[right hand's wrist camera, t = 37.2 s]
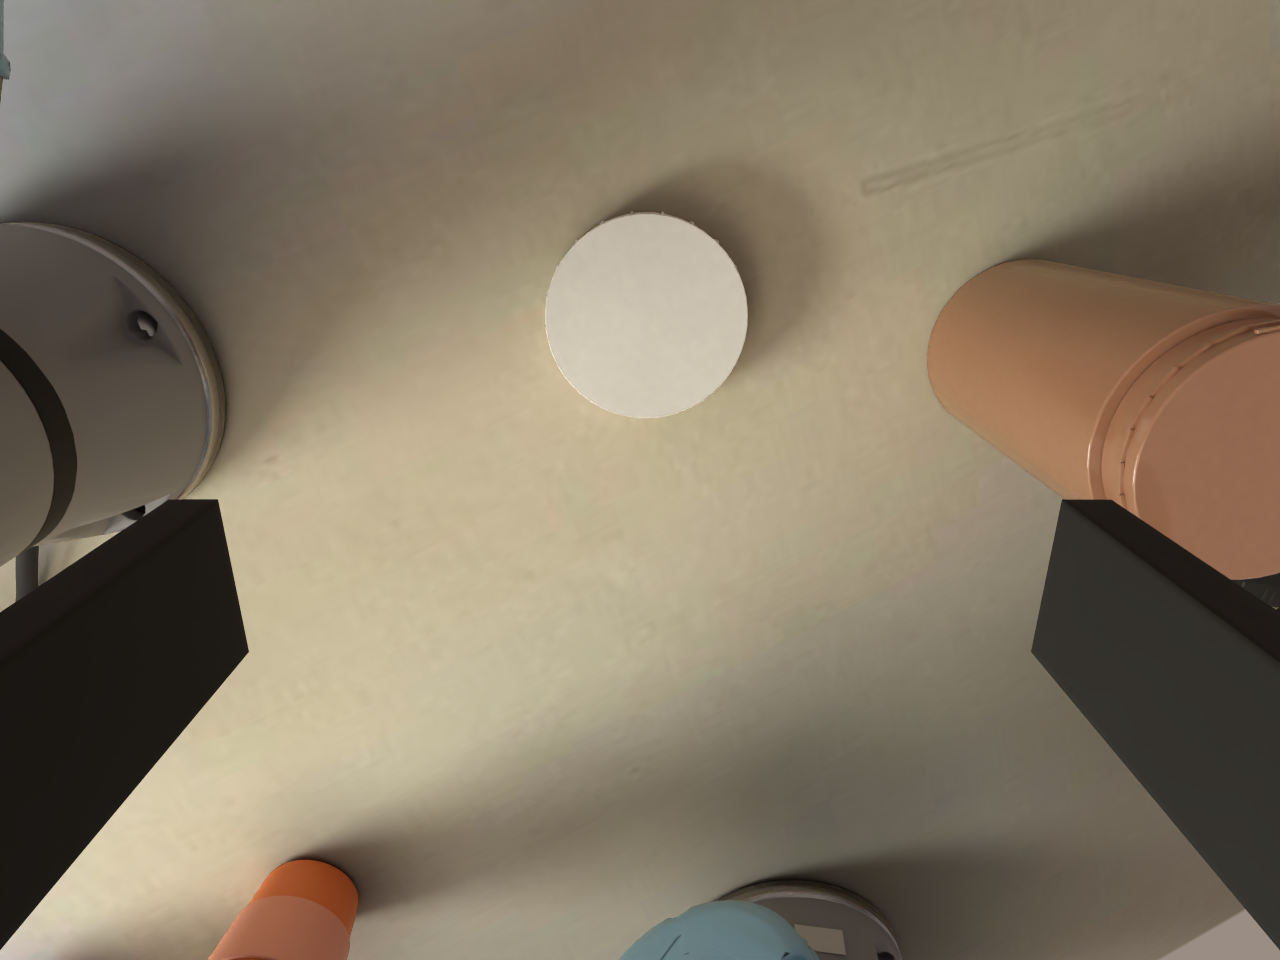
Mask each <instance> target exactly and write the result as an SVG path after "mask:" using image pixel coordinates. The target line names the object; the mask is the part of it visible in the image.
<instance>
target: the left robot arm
mask: <svg viewBox="0 0 1280 960" xmlns="http://www.w3.org/2000/svg"><path fill="white" fill-rule="evenodd" d="M1232 581H1234V582H1235V583H1237V584H1238V585H1239V586H1241V587H1242V588H1244V589H1245V590H1247V591H1248V592H1250V593H1251V594H1253V595H1254V596H1256V597H1257V598H1259V599H1260V600H1262V601H1263V602H1265V603H1266V604H1268V605H1269V606H1273V607H1279V608H1278V609H1277V611H1278V612H1280V573H1277V574H1273V575H1269V576H1264V577H1259V578H1252V579H1242V580H1232ZM619 960H902V956H901V953H900V950H899V947H898V944H897V941H896V938H895V935H894V933H893V931H892V929H891V926H890V925H889V923H888V922H887V920H886V919H885V918H884V916H883V915H882V914H881V913H880V912H879V911H878V910H877V909H876V908H875V907H874V906H873V905H871V904H870V903H869V902H867V901H866V900H864V899H863V898H861V897H860V896H858V895H856V894H854V893H852V892H850V891H848V890H845V889H842V888H840V887H837V886H833V885H830V884H825V883H820V882H814V881H806V880H781V881H772V882H766V883H761V884H756V885H753V886H749V887H746V888H743V889H740V890H737V891H735V892H733V893H730V894H728V895H726V896H724V897H722V898H720V899H719V900H717V901H714V902H709V903H704V904H700V905H697V906H694V907H691V908H690V909H688V910H687V911H686V912H685V913H683V914H682V915H680V916H679V917H676V918H673V919H672V918H667V919H666V920H664V921H663V922H661V923H659V924H658V925H656V926H655V927H653V928H652V929H650V930H649V931H648V932H647V933H645V934H644V935H643V936H642V937H641V938H639V939H638V940H637V941H636V942H635V943H634V944H633V945H632V946H631V947H630V948H629V949H628V950H627V951H626V952H625V953H624V954H623V955H622V956H621V957H620V958H619Z"/></svg>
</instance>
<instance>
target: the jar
mask: <svg viewBox="0 0 1280 960" xmlns="http://www.w3.org/2000/svg"><path fill="white" fill-rule="evenodd" d="M927 366H928V373H929V379H930V382H931V386H932V388H933V391H934V393H935V395H936V397H937V399H938V400H939V402H940V403H941V405H942V406H943V407H944V408H945V409H946V410H947V412H948V413H949V414H951V415H952V416H953V417H954V418H955V419H957V420H958V421H959V422H961V423H962V424H963V425H965V426H966V427H967V428H969V429H970V430H971V431H973V432H974V433H975V434H977V435H978V436H979V437H981V438H982V439H983V440H985V441H986V442H987V443H989V444H990V445H991V446H993V447H994V448H995V449H997V450H998V451H999V452H1001V453H1002V454H1003V455H1005V456H1006V457H1007V458H1009V459H1010V460H1011V461H1013V462H1014V463H1016V464H1017V465H1018V466H1020V467H1021V468H1022V469H1024V470H1025V471H1026V472H1028V473H1029V474H1030V475H1032V476H1033V477H1034V478H1036V479H1037V480H1038V481H1040V482H1041V483H1042V484H1044V485H1045V486H1046V487H1048V488H1049V489H1050V490H1052V491H1053V492H1054V493H1056V494H1057V495H1058V496H1060V497H1061V498H1062V499H1111V500H1113V501H1114V502H1116V503H1117V504H1119V505H1120V506H1122V507H1123V508H1125V509H1126V510H1128V511H1129V512H1131V513H1132V514H1134V515H1135V516H1137V517H1138V518H1140V519H1141V520H1143V521H1144V522H1146V523H1147V524H1149V525H1150V526H1152V527H1153V528H1155V529H1156V530H1158V531H1159V532H1161V533H1162V534H1164V535H1165V536H1167V537H1168V538H1170V539H1171V540H1172V541H1174V542H1175V543H1177V544H1178V545H1180V546H1181V547H1183V548H1184V549H1186V550H1187V551H1189V552H1190V553H1192V554H1193V555H1195V556H1196V557H1198V558H1199V559H1201V560H1202V561H1204V562H1205V563H1207V564H1208V565H1210V566H1211V567H1213V568H1214V569H1216V570H1217V571H1219V572H1220V573H1222V574H1223V575H1225V576H1226V577H1228V578H1229V579H1231V580H1242V579H1252V578H1259V577H1264V576H1269V575H1273V574H1277V573H1280V305H1278V304H1273V303H1267V302H1262V301H1257V300H1252V299H1246V298H1241V297H1236V296H1231V295H1225V294H1220V293H1215V292H1210V291H1204V290H1199V289H1194V288H1189V287H1183V286H1178V285H1173V284H1168V283H1162V282H1157V281H1152V280H1147V279H1141V278H1136V277H1131V276H1126V275H1120V274H1115V273H1110V272H1105V271H1099V270H1094V269H1089V268H1084V267H1078V266H1073V265H1068V264H1063V263H1057V262H1052V261H1046V260H1040V259H1022V260H1014V261H1010V262H1006V263H1002V264H999V265H997V266H994V267H992V268H989V269H987V270H986V271H984V272H982V273H980V274H978V275H977V276H975V277H974V278H972V279H971V280H970V281H968V282H967V283H966V284H965V285H964V286H962V287H961V288H960V289H959V290H958V291H957V292H956V293H955V294H954V296H953V297H952V298H951V299H950V300H949V301H948V303H947V304H946V306H945V307H944V309H943V310H942V312H941V314H940V315H939V317H938V319H937V321H936V323H935V326H934V328H933V331H932V334H931V338H930V342H929V347H928V356H927Z"/></svg>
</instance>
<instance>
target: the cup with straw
mask: <svg viewBox="0 0 1280 960" xmlns="http://www.w3.org/2000/svg"><path fill="white" fill-rule="evenodd" d="M357 908H358V893H357V890H356V888H355V886H354V884H353V882H352V881H351V880H350V879H349V878H348V877H347V876H346V875H345V874H344V873H343V872H342V871H340V870H339V869H337V868H335V867H333V866H331V865H329V864H326V863H323V862H319V861H314V860H296V861H291V862H288V863H285V864H283V865H281V866H279V867H277V868H276V869H275V870H273V871H272V872H271V873H270V874H269V876H268V877H267V878H266V880H265V881H264V882H263V884H262V885H261V887H260V888H259V890H258V891H257V893H256V894H255V896H254V897H253V899H252V900H251V902H250V903H249V905H248V906H246V907H245V908H244V909H243V910H242V911H241V912H240V913H239V914H238V916H237V917H236V919H235V920H234V922H233V923H232V925H231V926H230V928H229V929H228V931H227V932H226V933H225V935H224V936H223V938H222V939H221V941H220V942H219V944H218V945H217V947H216V948H215V950H214V951H213V953H212V954H211V956H210V957H209V959H208V960H347V957H348V953H349V948H350V941H349V938H350V935H351V931H352V927H353V924H354V920H355V916H356V913H357Z"/></svg>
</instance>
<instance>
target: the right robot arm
mask: <svg viewBox="0 0 1280 960" xmlns="http://www.w3.org/2000/svg"><path fill="white" fill-rule="evenodd" d="M3 3H4V0H0V101H1V91H2V81H3V78H4V79H9V76H10V71H11V69H10V62H9V61H8V59H7V58H6V56H5V55H4V54H3ZM225 408H226V407H225V392H224V386H223V380H222V376H221V372H220V368H219V364H218V362H217V359H216V356H215V353H214V351H213V348H212V346H211V344H210V342H209V340H208V337H207V335H206V333H205V332H204V330H203V328H202V327H201V325H200V323H199V321H198V320H197V318H196V317H195V315H194V314H193V312H192V311H191V310H190V308H189V307H188V305H187V304H186V303H185V302H184V301H183V299H182V298H181V297H180V296H179V294H178V293H177V292H176V291H175V290H174V289H173V288H172V287H171V286H170V285H169V284H168V283H167V282H166V281H165V280H164V279H163V278H162V277H161V276H160V275H158V274H157V273H156V272H155V271H154V270H153V269H152V268H150V267H149V266H148V265H146V264H145V263H144V262H142V261H141V260H140V259H138V258H137V257H135V256H134V255H132V254H131V253H129V252H127V251H126V250H124V249H123V248H121V247H119V246H117V245H115V244H113V243H111V242H109V241H107V240H105V239H103V238H100V237H98V236H96V235H93V234H91V233H88V232H85V231H81V230H78V229H75V228H71V227H67V226H62V225H58V224H50V223H42V222H17V223H1V224H0V566H2V565H3V564H5V563H6V562H8V561H9V560H11V559H13V558H14V557H16V602H15V603H14V604H12V605H11V606H9V607H8V608H6V609H5V610H3V611H2V612H0V950H1V948H2V947H3V946H4V945H5V944H6V942H7V941H8V940H9V939H10V938H11V936H12V935H13V934H14V933H15V932H16V930H17V929H18V928H19V927H20V926H21V924H22V923H23V922H24V921H25V920H26V918H27V917H28V916H29V915H30V914H31V912H32V911H33V910H34V909H35V908H36V906H37V905H38V904H39V903H40V902H41V900H42V899H43V898H44V897H45V896H46V894H47V893H48V892H49V891H50V890H51V888H52V887H53V886H54V885H55V884H56V882H57V881H58V880H59V879H60V878H61V876H62V875H63V874H64V873H65V872H66V870H67V869H68V868H69V867H70V866H71V864H72V863H73V862H74V861H75V860H76V858H77V857H78V856H79V855H80V854H81V852H82V851H83V850H84V849H85V848H86V846H87V845H88V844H89V843H90V842H91V841H92V839H93V838H94V837H95V836H96V835H97V833H98V832H99V831H100V830H101V829H102V827H103V826H104V825H105V824H106V823H107V821H108V820H109V819H110V818H111V817H112V815H113V814H114V813H115V812H116V811H117V809H118V808H119V807H120V806H121V805H122V803H123V802H124V801H125V800H126V799H127V797H128V796H129V795H130V794H131V793H132V791H133V790H134V789H135V788H136V787H137V785H138V784H139V783H140V782H141V781H142V779H143V778H144V777H145V776H146V775H147V773H148V772H149V771H150V770H151V769H152V767H153V766H154V765H155V764H156V763H157V761H158V760H159V759H160V758H161V757H162V755H163V754H164V753H165V752H166V751H167V749H168V748H169V747H170V746H171V745H172V743H173V742H174V741H175V740H176V739H177V737H178V736H179V735H180V734H181V733H182V731H183V730H184V729H185V728H186V727H187V725H188V724H189V723H190V722H191V721H192V719H193V718H194V717H195V716H196V715H197V713H198V712H199V711H200V710H201V709H202V707H203V706H204V705H205V704H206V703H207V701H208V700H209V699H210V698H211V697H212V695H213V694H214V693H215V692H216V691H217V689H218V688H219V687H220V686H221V685H222V683H223V682H224V681H225V680H226V679H227V677H228V676H229V675H230V674H231V673H232V671H233V670H234V669H235V668H236V667H237V665H238V664H239V663H240V662H241V661H242V659H243V658H244V657H245V656H246V655H247V653H248V652H249V650H248V645H247V640H246V635H245V630H244V625H243V620H242V616H241V611H240V606H239V601H238V596H237V591H236V586H235V581H234V576H233V571H232V566H231V562H230V557H229V552H228V547H227V542H226V537H225V532H224V527H223V522H222V517H221V512H220V508H219V503H218V499H183V498H184V497H185V496H186V495H187V494H189V493H190V492H191V491H192V490H193V489H194V488H195V487H196V486H197V485H198V484H199V483H200V482H201V480H202V479H203V478H204V476H205V475H206V473H207V472H208V471H209V469H210V467H211V465H212V463H213V462H214V460H215V457H216V455H217V452H218V450H219V447H220V444H221V440H222V436H223V431H224V424H225ZM118 531H121V532H119V533H118V534H116V535H115V536H113V537H112V538H110V539H109V540H108V541H106V542H105V543H103V544H102V545H100V546H99V547H97V548H96V549H94V550H93V551H91V552H90V553H88V554H87V555H85V556H84V557H82V558H81V559H79V560H78V561H76V562H75V563H73V564H72V565H70V566H69V567H67V568H66V569H64V570H63V571H61V572H60V573H58V574H57V575H55V576H54V577H52V578H51V579H49V580H48V581H46V582H45V583H43V584H42V585H41V586H39V587H38V551H39V545H45V544H51V543H57V542H63V541H68V540H74V539H80V538H86V537H92V536H97V535H103V534H108V533H113V532H118ZM1031 652H1032V653H1033V655H1034V656H1035V657H1036V658H1037V659H1038V661H1039V662H1040V663H1041V664H1042V665H1043V667H1044V668H1045V669H1046V670H1047V671H1048V673H1049V674H1050V675H1051V676H1052V677H1053V679H1054V680H1055V681H1056V682H1057V683H1058V685H1059V686H1060V687H1061V688H1062V689H1063V691H1064V692H1065V693H1066V694H1067V695H1068V697H1069V698H1070V699H1071V700H1072V701H1073V703H1074V704H1075V705H1076V706H1077V707H1078V709H1079V710H1080V711H1081V712H1082V713H1083V715H1084V716H1085V717H1086V718H1087V719H1088V721H1089V722H1090V723H1091V724H1092V725H1093V727H1094V728H1095V729H1096V730H1097V731H1098V733H1099V734H1100V735H1101V736H1102V737H1103V739H1104V740H1105V741H1106V742H1107V743H1108V745H1109V746H1110V747H1111V748H1112V749H1113V751H1114V752H1115V753H1116V754H1117V755H1118V757H1119V758H1120V759H1121V760H1122V761H1123V763H1124V764H1125V765H1126V766H1127V767H1128V769H1129V770H1130V771H1131V772H1132V773H1133V775H1134V776H1135V777H1136V778H1137V779H1138V781H1139V782H1140V783H1141V784H1142V785H1143V787H1144V788H1145V789H1146V790H1147V791H1148V793H1149V794H1150V795H1151V796H1152V797H1153V799H1154V800H1155V801H1156V802H1157V803H1158V805H1159V806H1160V807H1161V808H1162V809H1163V811H1164V812H1165V813H1166V814H1167V815H1168V817H1169V818H1170V819H1171V820H1172V821H1173V823H1174V824H1175V825H1176V826H1177V827H1178V829H1179V830H1180V831H1181V832H1182V833H1183V835H1184V836H1185V837H1186V838H1187V839H1188V841H1189V842H1190V843H1191V844H1192V845H1193V846H1194V848H1195V849H1196V850H1197V851H1198V852H1199V854H1200V855H1201V856H1202V857H1203V858H1204V860H1205V861H1206V862H1207V863H1208V864H1209V866H1210V867H1211V868H1212V869H1213V870H1214V872H1215V873H1216V874H1217V875H1218V876H1219V878H1220V879H1221V880H1222V881H1223V882H1224V884H1225V885H1226V886H1227V887H1228V888H1229V890H1230V891H1231V892H1232V893H1233V894H1234V896H1235V897H1236V898H1237V899H1238V900H1239V902H1240V903H1241V904H1242V905H1243V906H1244V908H1245V909H1246V910H1247V911H1248V912H1249V914H1250V915H1251V916H1252V917H1253V918H1254V920H1255V921H1256V922H1257V923H1258V924H1259V926H1260V927H1261V928H1262V929H1263V930H1264V932H1265V933H1266V934H1267V935H1268V936H1269V938H1270V939H1271V940H1272V941H1273V942H1274V944H1275V945H1276V946H1277V947H1278V948H1279V950H1280V612H1278V611H1277V610H1275V609H1274V608H1272V607H1271V606H1269V605H1268V604H1266V603H1265V602H1263V601H1262V600H1260V599H1259V598H1257V597H1256V596H1254V595H1253V594H1251V593H1250V592H1248V591H1247V590H1245V589H1244V588H1242V587H1241V586H1239V585H1238V584H1237V583H1235V582H1234V581H1232V580H1231V579H1229V578H1228V577H1226V576H1225V575H1223V574H1222V573H1220V572H1219V571H1217V570H1216V569H1214V568H1213V567H1211V566H1210V565H1208V564H1207V563H1205V562H1204V561H1202V560H1201V559H1199V558H1198V557H1196V556H1195V555H1193V554H1192V553H1190V552H1189V551H1187V550H1186V549H1184V548H1183V547H1181V546H1180V545H1178V544H1177V543H1175V542H1174V541H1172V540H1171V539H1170V538H1168V537H1167V536H1165V535H1164V534H1162V533H1161V532H1159V531H1158V530H1156V529H1155V528H1153V527H1152V526H1150V525H1149V524H1147V523H1146V522H1144V521H1143V520H1141V519H1140V518H1138V517H1137V516H1135V515H1134V514H1132V513H1131V512H1129V511H1128V510H1126V509H1125V508H1123V507H1122V506H1120V505H1119V504H1117V503H1116V502H1114V501H1113V500H1111V499H1062V503H1061V508H1060V512H1059V517H1058V522H1057V527H1056V532H1055V537H1054V542H1053V547H1052V552H1051V557H1050V562H1049V566H1048V571H1047V576H1046V581H1045V586H1044V591H1043V596H1042V601H1041V606H1040V611H1039V616H1038V620H1037V625H1036V630H1035V635H1034V640H1033V645H1032V650H1031Z"/></svg>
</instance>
